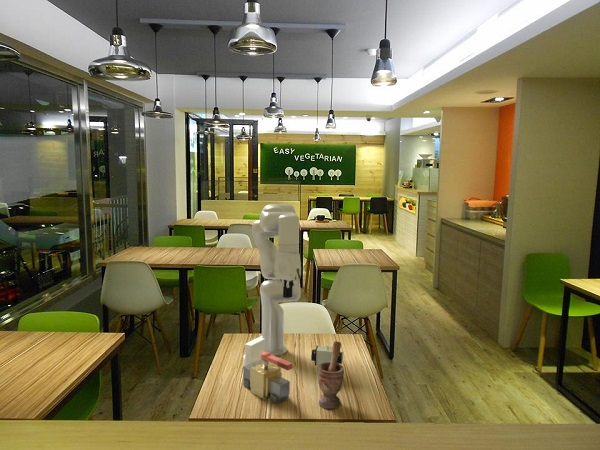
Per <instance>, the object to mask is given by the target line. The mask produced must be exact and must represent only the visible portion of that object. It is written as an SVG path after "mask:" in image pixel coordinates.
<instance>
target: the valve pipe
mask: <svg viewBox="0 0 600 450" xmlns="http://www.w3.org/2000/svg"><path fill="white" fill-rule="evenodd" d="M242 367H243V368H242V369H243V371H242V374H243V375H242V378H243V382H242V383H243V385H242V386H243V387H245V388H247V389H250V393H252V394H254V396H257V397H259V398H260V399H262V400H265V399H266V398H269V401H270V402H271V403H273V404H275V405H278V404H280V403H282V402H284V401H287V400H288V399H290V390H291V389H290V388H291V387H290V385H291V384H290V383H291V381H290V380H288V379H285V378H284V377H283V376H282V374H283V373H282V369H281V367H278V366H277V365H275V364H273V363H270V362H268V361H265V360H263V364H260V365H256V364H254V363H252V364H249V365H246V366H242Z"/></svg>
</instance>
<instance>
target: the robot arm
mask: <svg viewBox="0 0 600 450" xmlns="http://www.w3.org/2000/svg"><path fill="white" fill-rule="evenodd" d="M251 233H252V238H253V241H254V244H255V245H256V246H255V247H256V248H257V250H258V254H259V263H260V264H259V265H260V272H261V275H262V277H263V278H264V279H266V280H264V281H263V282H262V283H261V284H260V287H259V292H260V302H261V336H259V337H260V338H264V339H265V340H264V352H265V351H267V352H270V353H271V355H273V356H276V357H279V356H281V355H284V354H286V353H287V351H288V347H287V345H285V344H284V337H285V335H284V330H285V328H284V327H285V321H284V320H285V313H284V309H283V307H282V306H281V305H280V304H279V303H282V302H295V301H298V300H299V299H300V298H301V293H302V291H301V284H300V279H301V276H302V266H301V265H302V262H301V255H300V248H299V247H300V245H299V244H300V217H299V216H298V214H297V213H296V209H295V207H294V206H293V205H292V204H290V203H269V204H267V205H265V206H264V207H263V208H262V210H261V212H260V214H259V219H258V220H255V221H254V222H253V223H252V227H251ZM269 238H277V243H278V244H277V246H276V245H275V244H274V242H272V241H271V240H270V239H269Z"/></svg>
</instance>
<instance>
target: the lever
mask: <svg viewBox="0 0 600 450" xmlns="http://www.w3.org/2000/svg"><path fill="white" fill-rule="evenodd" d="M261 360H265V361H268V362H270V363H272V364H274V365H276V366H278V367H280V368H282V369H284V370H285V371H289V370H292V369H293V367H294V363H293V362H290V361H288V360H287V359H283V358H281V357H279V356H273V355H271V353H270V352H267V351H265V352H262V353H261Z"/></svg>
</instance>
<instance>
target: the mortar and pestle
mask: <svg viewBox="0 0 600 450" xmlns="http://www.w3.org/2000/svg"><path fill="white" fill-rule="evenodd" d="M331 347H332V357H331V362H325V363H321V364H320V365H319V366H317V374H318V375H317V381H318V387H319V389H320V390H321V392H322V393H323V394H322V395H321V396H320V397H319V400H318V404H319V406H320V407H321V408H322V409H327V410H328V409H329V410H330V409H331V410H332V409H339V407H340V406H341V403H342V402H341V399H340V397H339V396H337V394H338V393H339V392H341V390H342V386H343V382H344V372H345V371H344V370H345V369H344V366H343V364H338V363H337V359H338V355H339V352H341V347H342V343H341V342H340V341H335V340H334V342H333V343H332V346H331Z"/></svg>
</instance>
